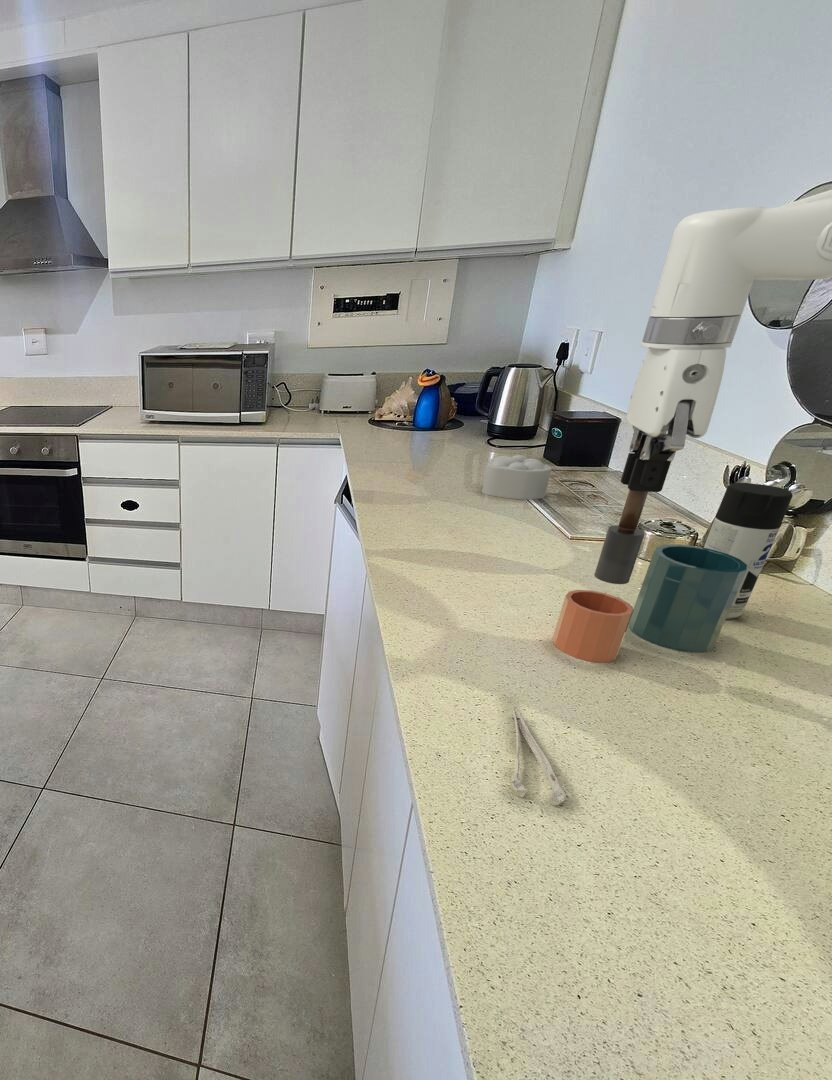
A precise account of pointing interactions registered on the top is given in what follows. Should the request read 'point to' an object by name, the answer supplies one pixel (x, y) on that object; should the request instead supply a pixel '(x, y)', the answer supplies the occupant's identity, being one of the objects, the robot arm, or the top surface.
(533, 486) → the lumpy-topped squat cylinder
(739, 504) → the spray can
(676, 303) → the robot arm
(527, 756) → the top surface
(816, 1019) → the top surface
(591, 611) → the brush holder
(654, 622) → the teal faceted cup
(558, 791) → the forked grey bone
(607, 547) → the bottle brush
